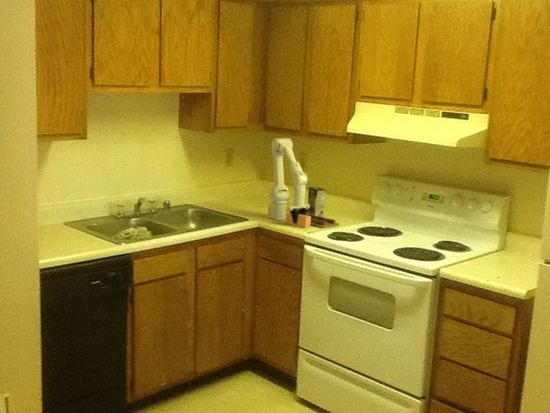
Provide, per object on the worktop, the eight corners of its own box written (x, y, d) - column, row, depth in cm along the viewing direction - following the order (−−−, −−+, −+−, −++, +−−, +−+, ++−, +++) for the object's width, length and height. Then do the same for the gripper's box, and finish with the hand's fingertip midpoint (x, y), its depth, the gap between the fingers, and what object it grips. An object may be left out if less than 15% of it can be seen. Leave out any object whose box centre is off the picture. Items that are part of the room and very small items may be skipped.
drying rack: (291, 221, 385) (291, 215, 384) (308, 218, 395) (309, 213, 394) (322, 228, 370) (322, 222, 369) (339, 225, 380) (339, 220, 379)
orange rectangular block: (285, 223, 377) (286, 212, 376) (290, 222, 380) (291, 211, 379) (305, 228, 368) (305, 217, 367) (310, 227, 370) (310, 216, 369)
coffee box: (306, 215, 404) (308, 187, 401) (316, 214, 407) (318, 186, 404) (314, 218, 396) (316, 189, 394) (324, 217, 399) (326, 189, 396)
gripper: (295, 199, 363) (294, 225, 366) (314, 197, 373) (312, 222, 376) (285, 197, 368) (284, 223, 370) (304, 195, 378) (302, 220, 381)
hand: (297, 222), depth 373 cm, fingers closed on orange rectangular block, 4 cm apart
